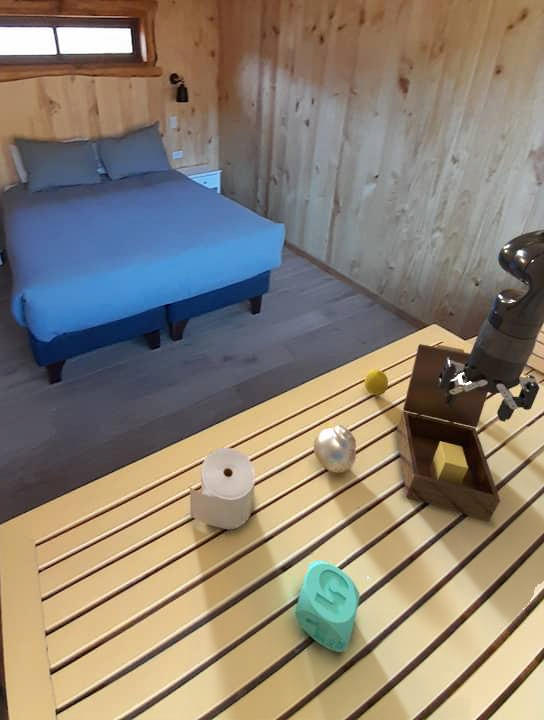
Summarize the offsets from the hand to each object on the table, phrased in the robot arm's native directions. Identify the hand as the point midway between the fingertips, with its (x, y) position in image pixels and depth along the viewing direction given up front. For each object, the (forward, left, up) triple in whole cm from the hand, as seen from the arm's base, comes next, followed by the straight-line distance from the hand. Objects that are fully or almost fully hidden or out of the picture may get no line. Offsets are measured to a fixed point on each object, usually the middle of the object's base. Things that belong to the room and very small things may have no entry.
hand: (473, 410), depth 77 cm
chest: (+1, -2, -22) cm, 22 cm away
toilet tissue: (+44, +20, -22) cm, 53 cm away
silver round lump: (+23, +3, -22) cm, 32 cm away
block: (+1, +1, -21) cm, 21 cm away
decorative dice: (+24, +32, -22) cm, 45 cm away
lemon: (+13, -21, -22) cm, 33 cm away
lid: (+1, -12, -6) cm, 13 cm away
